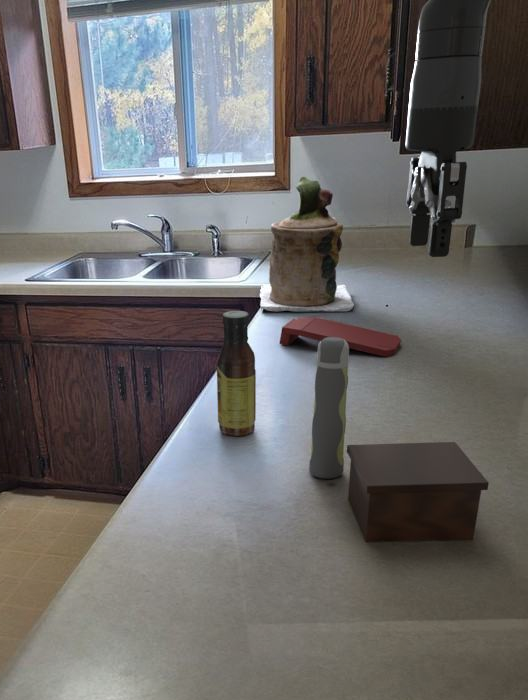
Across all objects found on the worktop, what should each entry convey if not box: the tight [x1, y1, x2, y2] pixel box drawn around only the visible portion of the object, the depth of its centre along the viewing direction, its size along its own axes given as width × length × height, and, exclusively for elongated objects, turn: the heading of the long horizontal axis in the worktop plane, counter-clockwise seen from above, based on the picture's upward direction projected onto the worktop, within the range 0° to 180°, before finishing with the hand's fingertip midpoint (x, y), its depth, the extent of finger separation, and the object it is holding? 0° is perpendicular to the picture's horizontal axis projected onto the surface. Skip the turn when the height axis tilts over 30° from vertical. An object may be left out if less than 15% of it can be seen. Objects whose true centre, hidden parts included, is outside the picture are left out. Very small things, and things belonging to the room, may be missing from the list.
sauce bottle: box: [216, 310, 257, 437], centre depth 119 cm, size 7×6×20 cm
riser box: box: [346, 441, 489, 543], centre depth 93 cm, size 14×12×8 cm
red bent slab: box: [279, 316, 402, 358], centre depth 165 cm, size 12×5×25 cm
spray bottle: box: [308, 337, 350, 480], centre depth 103 cm, size 5×5×20 cm
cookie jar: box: [259, 176, 355, 313], centre depth 196 cm, size 25×25×32 cm
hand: (427, 250), depth 91 cm, fingers open, 8 cm apart
